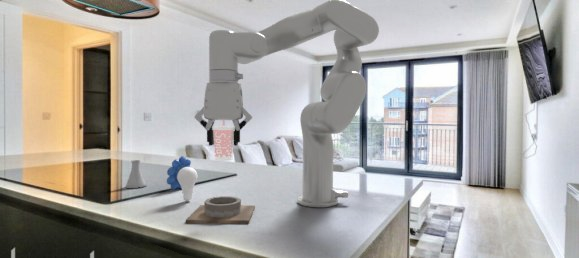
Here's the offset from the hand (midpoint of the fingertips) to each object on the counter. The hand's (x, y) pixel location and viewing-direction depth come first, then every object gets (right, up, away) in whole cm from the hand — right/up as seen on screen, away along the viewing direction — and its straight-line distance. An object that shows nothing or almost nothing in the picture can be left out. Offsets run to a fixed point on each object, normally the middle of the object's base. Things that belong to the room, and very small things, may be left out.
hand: (223, 144), depth 92 cm
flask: (-40, -18, +36) cm, 57 cm away
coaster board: (0, -19, +1) cm, 19 cm away
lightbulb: (-14, -19, +15) cm, 28 cm away
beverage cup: (0, -4, 0) cm, 4 cm away
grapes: (-23, -18, +33) cm, 44 cm away
